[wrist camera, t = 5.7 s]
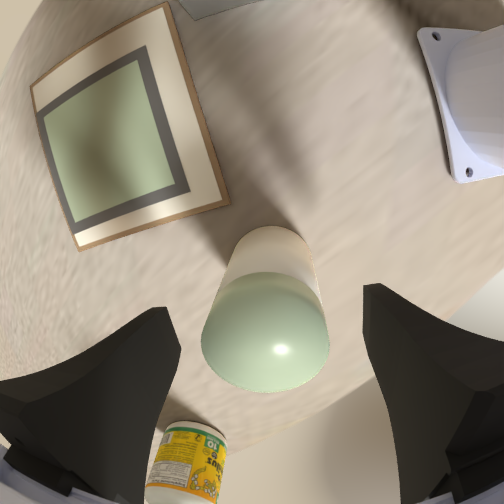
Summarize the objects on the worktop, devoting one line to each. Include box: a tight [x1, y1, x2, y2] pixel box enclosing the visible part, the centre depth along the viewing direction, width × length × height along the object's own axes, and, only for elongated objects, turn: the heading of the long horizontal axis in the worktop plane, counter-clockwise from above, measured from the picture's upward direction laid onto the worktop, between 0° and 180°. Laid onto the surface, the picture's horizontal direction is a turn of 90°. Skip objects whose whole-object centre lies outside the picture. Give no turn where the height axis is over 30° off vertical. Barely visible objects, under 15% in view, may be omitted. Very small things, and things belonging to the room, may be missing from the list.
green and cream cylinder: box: [201, 226, 330, 393], centre depth 12 cm, size 4×4×6 cm
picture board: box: [30, 2, 231, 252], centre depth 13 cm, size 10×11×1 cm
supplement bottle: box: [144, 421, 227, 504], centre depth 17 cm, size 5×5×10 cm
